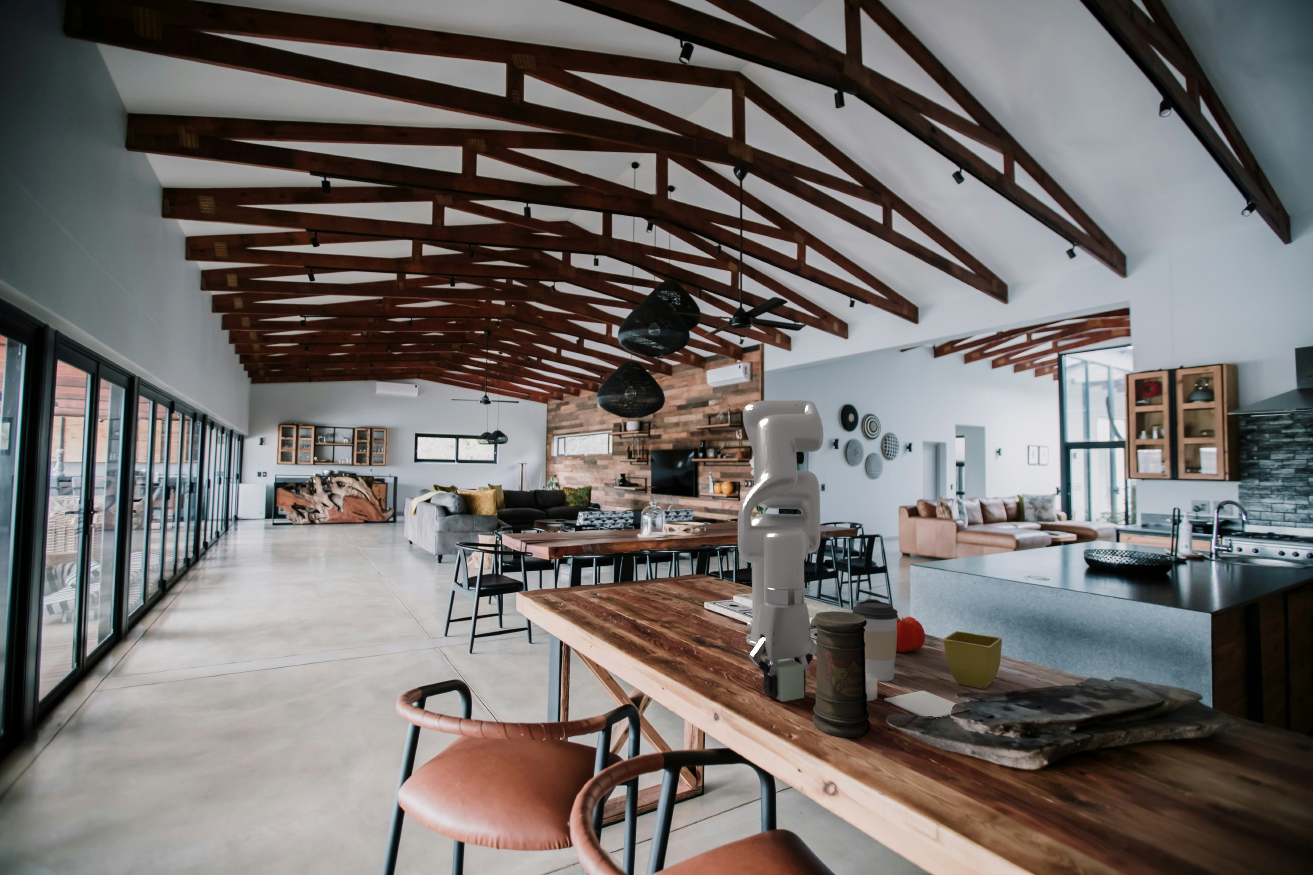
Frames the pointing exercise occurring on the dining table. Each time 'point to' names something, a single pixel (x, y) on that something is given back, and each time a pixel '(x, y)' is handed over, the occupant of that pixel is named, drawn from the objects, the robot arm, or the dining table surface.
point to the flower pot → (973, 658)
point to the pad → (923, 704)
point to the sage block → (789, 680)
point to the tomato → (909, 635)
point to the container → (841, 675)
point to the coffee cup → (879, 637)
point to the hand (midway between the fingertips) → (784, 691)
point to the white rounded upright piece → (871, 687)
